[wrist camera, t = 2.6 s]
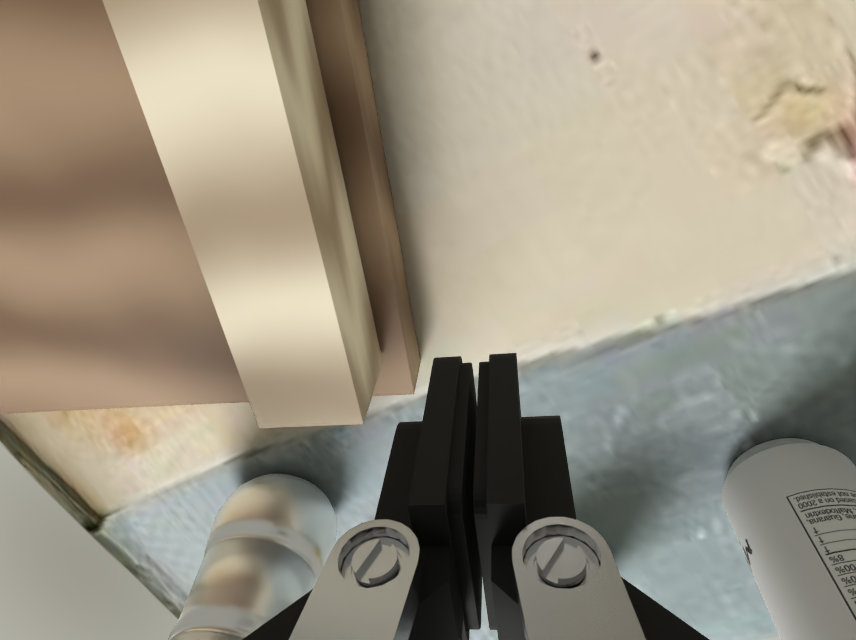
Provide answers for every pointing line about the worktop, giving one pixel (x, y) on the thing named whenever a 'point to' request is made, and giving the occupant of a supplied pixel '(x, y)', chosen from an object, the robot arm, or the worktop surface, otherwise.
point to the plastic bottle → (258, 557)
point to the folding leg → (259, 196)
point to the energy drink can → (798, 534)
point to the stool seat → (146, 223)
